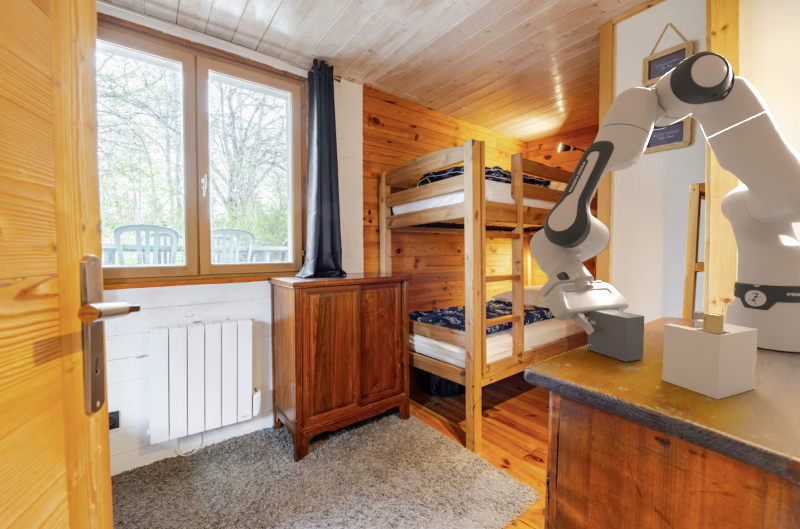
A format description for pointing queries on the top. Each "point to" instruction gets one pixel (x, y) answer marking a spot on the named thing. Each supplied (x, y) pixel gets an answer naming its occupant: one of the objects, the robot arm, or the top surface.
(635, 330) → the cartridge
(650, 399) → the top surface
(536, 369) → the top surface
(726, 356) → the housing
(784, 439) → the top surface
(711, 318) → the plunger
